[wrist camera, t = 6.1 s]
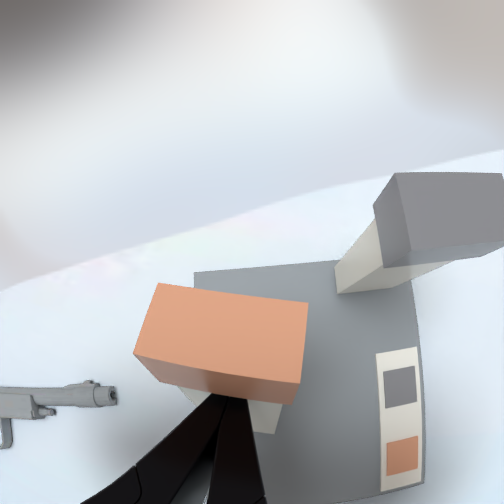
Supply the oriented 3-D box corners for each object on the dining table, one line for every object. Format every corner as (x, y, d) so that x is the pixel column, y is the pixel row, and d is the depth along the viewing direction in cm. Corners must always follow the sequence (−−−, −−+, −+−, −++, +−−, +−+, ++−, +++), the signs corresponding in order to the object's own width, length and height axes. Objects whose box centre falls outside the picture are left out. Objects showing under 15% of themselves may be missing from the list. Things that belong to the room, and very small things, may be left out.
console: (419, 479, 13) (426, 484, 12) (211, 503, 14) (206, 511, 13) (401, 257, 18) (407, 251, 17) (197, 276, 19) (192, 270, 18)
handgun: (148, 557, 12) (100, 379, 16) (-54, 493, 11) (-80, 374, 15) (160, 540, 14) (119, 378, 18) (-38, 490, 14) (-62, 376, 18)
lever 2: (395, 291, 16) (519, 238, 6) (333, 298, 16) (411, 250, 6) (390, 257, 16) (501, 173, 6) (330, 263, 17) (394, 172, 7)
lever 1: (277, 438, 14) (300, 384, 6) (208, 427, 14) (132, 353, 6) (283, 404, 15) (308, 302, 7) (215, 394, 15) (158, 282, 7)
